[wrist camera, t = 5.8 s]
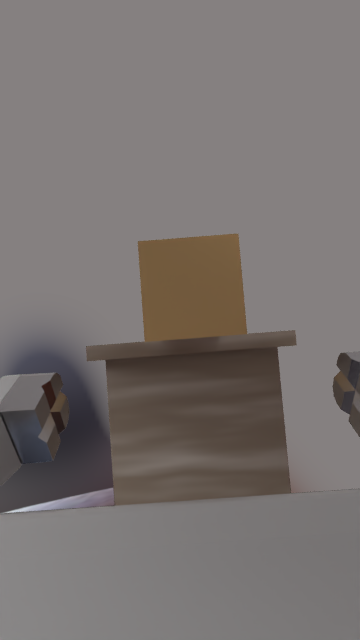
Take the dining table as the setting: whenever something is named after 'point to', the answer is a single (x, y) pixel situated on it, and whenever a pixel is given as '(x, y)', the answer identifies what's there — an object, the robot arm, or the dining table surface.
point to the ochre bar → (192, 287)
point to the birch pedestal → (196, 417)
